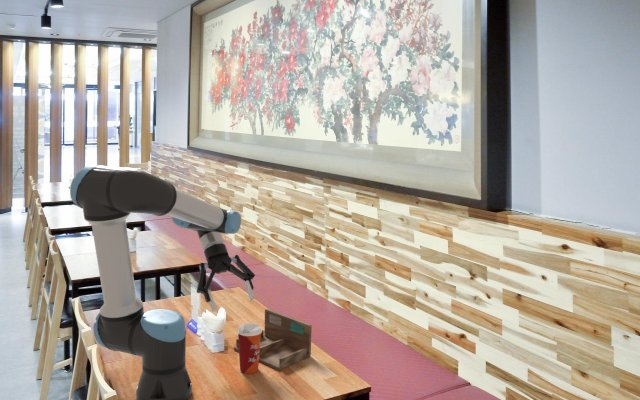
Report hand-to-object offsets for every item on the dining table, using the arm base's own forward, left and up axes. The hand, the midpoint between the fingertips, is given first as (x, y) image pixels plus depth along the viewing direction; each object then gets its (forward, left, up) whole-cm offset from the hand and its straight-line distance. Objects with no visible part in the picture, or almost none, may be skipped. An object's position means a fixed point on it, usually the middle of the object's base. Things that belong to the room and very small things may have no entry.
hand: (233, 305), depth 174 cm
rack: (+10, -8, -17) cm, 21 cm away
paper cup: (-3, -12, -17) cm, 21 cm away
